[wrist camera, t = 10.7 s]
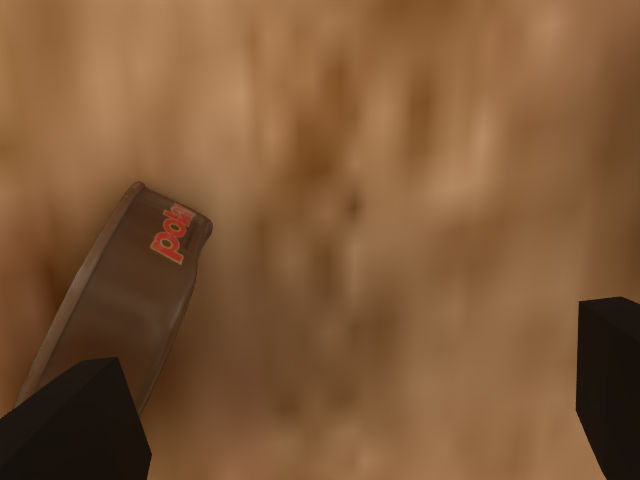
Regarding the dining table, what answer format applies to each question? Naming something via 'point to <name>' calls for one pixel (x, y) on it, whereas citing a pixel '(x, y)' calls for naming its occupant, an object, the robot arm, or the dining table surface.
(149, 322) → the tin
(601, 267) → the dining table surface
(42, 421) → the robot arm
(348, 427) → the dining table surface
